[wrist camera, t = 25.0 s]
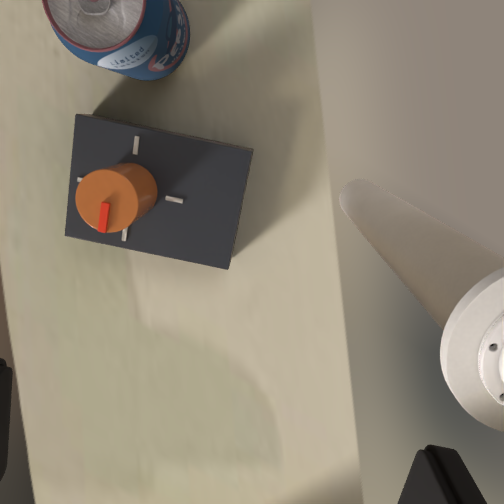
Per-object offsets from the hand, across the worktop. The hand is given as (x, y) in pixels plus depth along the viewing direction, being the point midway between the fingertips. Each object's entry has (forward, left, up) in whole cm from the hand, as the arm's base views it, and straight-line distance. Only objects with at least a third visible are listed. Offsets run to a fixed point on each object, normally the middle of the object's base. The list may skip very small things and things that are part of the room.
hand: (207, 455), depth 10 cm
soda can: (+11, -12, -31) cm, 35 cm away
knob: (+10, 0, -27) cm, 29 cm away
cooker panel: (+8, 0, -30) cm, 31 cm away
